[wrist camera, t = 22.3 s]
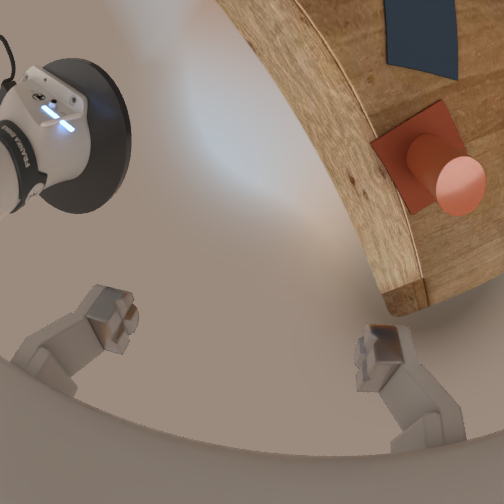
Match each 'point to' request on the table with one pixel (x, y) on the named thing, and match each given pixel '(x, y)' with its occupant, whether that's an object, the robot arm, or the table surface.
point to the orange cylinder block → (447, 174)
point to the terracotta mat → (398, 142)
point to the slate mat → (422, 36)
